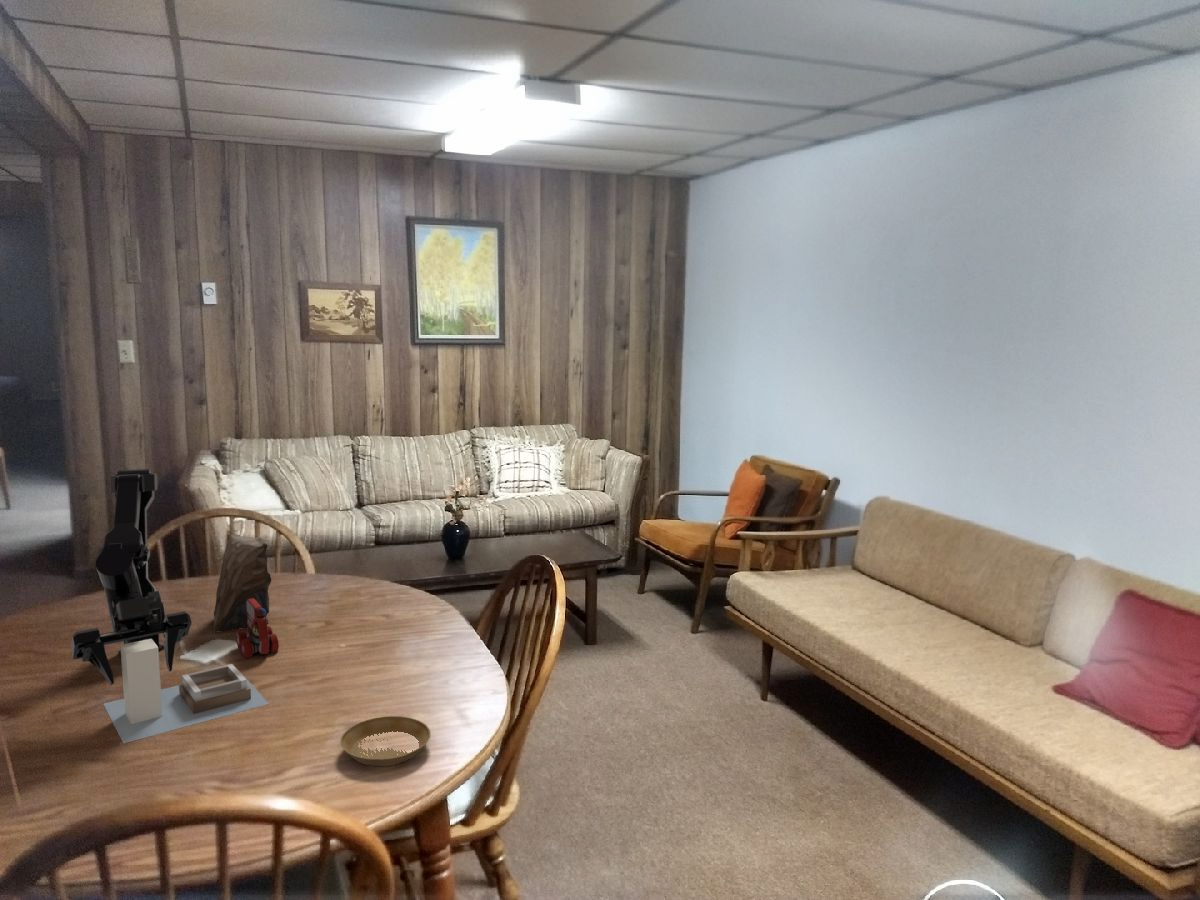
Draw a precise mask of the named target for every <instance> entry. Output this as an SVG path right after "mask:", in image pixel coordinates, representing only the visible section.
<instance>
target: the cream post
mask: <svg viewBox="0 0 1200 900" xmlns="http://www.w3.org/2000/svg"><path fill="white" fill-rule="evenodd" d="M119 647H120V650H121V654H120V656H121V657H120V658H121V659H120V661H121V673H122V687H123V689H122V690H123V699H124V704H125V714H126V716H127V718H128V720H129V721H130V723H131V724H134V723H138V722H142V721H146V720H150V719H153V718H157V717H161V716H162V700H161V690H162V686H161V673H160V671H161V670H160V657H159V656H160V655H159V650H158V646H157V645H156V644H155V642H154V641H153V640H152V639H147V640H142V641H137V642H132V643H128V644H124V643H122V644H120V646H119Z"/></svg>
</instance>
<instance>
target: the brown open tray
mask: <svg viewBox="0 0 1200 900" xmlns="http://www.w3.org/2000/svg"><path fill="white" fill-rule="evenodd" d="M239 671H240V670H238V668H237V667H235V665H234V664H233V663H229V664H224V665H221V666H216V667H212V668H207V669H203V670H199V671H195V672H191V673H186V674H182V675H181V680H182V682H181V683H179V684H178V685H179V694H180V695H181V697H182V698H183V700H184V701H185V702H186V704H187V705H188V707H189V708H190V709H191V711H192V712H193V714H196V713H200V712H203V711H207V710H211V709H215V708H219V707H222V706H226V705H230V704H234V703H238V702H241V701H245V700H249V699H251V689H250V688H249V687H248V685H247V680H248V679H247V678H246V677H245V676H244V675H243V673H242V672H241V671H240V672H241V673H240V672H239ZM246 679H247V680H246Z"/></svg>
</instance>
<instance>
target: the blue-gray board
mask: <svg viewBox="0 0 1200 900" xmlns="http://www.w3.org/2000/svg"><path fill="white" fill-rule="evenodd" d="M238 671H239V672H240V673H241V674H242V672H241V671H240V670H238ZM246 680H247V685H248V687H249V688H250V689H251V699H249V700H245V701H241V702H238V703H234V704H230V705H226V706H222V707H219V708H215V709H211V710H207V711H203V712H200V713H196V714H193V712H192V711H191V709H190V708H189V707H188V705H187V704H186V702H185V701H184V700H183V698H182V697H181V695H180V694H179V684H178V685H175V686H171V687H166V688H161V700H162V716H161V717H157V718H153V719H150V720H146V721H142V722H138V723H134V724H131V723H130V721H129V720H128V718H127V716H126V714H125V704H124V698H121V699H117V700H116V699H115V700H113V701H108V702H105V703H103V706H104V709H105V710H106V712H107V714H108V716H109V718H110V720H111V722H112V724H113V726H114V728H115V730H116V733H117V734H118V736H119V738H120V740H121V741H122V743H123V745H125V744H127V743H131V742H134V741H138V740H142V739H146V738H149V737H152V736H156V735H161V734H164V733H168V732H172V731H174V730H175V731H176V730H178V729H182V728H186V727H189V726H193V725H194V726H195V725H197V724H198V725H199V724H202V723H204V722H208V721H209V722H210V721H213V720H216V719H219V718H223V717H227V716H230V715H234V714H238V713H241V712H246V711H248V710H253V709H256V708H259V707H263V706H267V705H270V703H269V701H268V700H267V699H266V698H264V696H263V695H262V694H261V693H260V692H259V691H258V690H257V689H256V687H255V686H253V684H252V683H251V682H250V681H249V680H248V679H247V678H246Z"/></svg>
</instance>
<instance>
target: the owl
mask: <svg viewBox="0 0 1200 900" xmlns="http://www.w3.org/2000/svg"><path fill="white" fill-rule="evenodd" d="M227 536H228V538H227V540H228V541H227V544H226V546H225V549H224V554H223V556H222V558H223V559H222V563H221V569H220V574H219V579H218V583H217V584H218V585H217V587H216V588H217V589H216V593H215V594H216V595H215V596H216V597H215V607H214V610H213V617H214V618H213V625H214V626H213V627H214V631H215V632H214V633H218V632H217V631H221V632H225V631H224V630H228V631H235V630H234V629H236V630H240V629H239V628H245V629H247V600H248V599H252V598H254V599H255V600H256V601H257V602H258V603H259V605H260V606H261V607H262V608H264V609H265V610H266V615H265V616H264V617H265V618H266V621H267V625H268V624H269V623H268V622H269V620H268V618H267V616H268V614H269V613H270V595H269V588H270V585H271V584H272V583H271V582H272V577H271V574H270V573H269V571H268V557H269V556H268V553H267V549H268V547H269V546H268V545H269V544H267V543H265V542H264V540H263V538H262V537H250V536H247V537H246V536H245V537H244V536H241V535H239V534H232V533H230V534H228V535H227ZM232 629H233V630H232Z"/></svg>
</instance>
